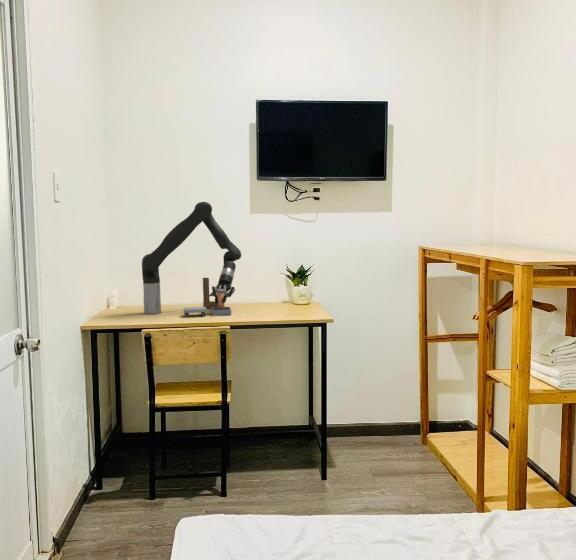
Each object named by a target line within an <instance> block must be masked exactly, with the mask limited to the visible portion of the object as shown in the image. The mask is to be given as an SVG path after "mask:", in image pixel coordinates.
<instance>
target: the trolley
mask: <svg viewBox="0 0 576 560" xmlns="http://www.w3.org/2000/svg"><path fill="white" fill-rule="evenodd" d="M206 312H207V308H206V307H203V306H196V307H195V306H194V307H183V314H184V315H183V316H184V317H185V318H189V317H190V314H191V313H200V315H201V316H202V317H203V316H204V317H206V315H207V313H206Z"/></svg>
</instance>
